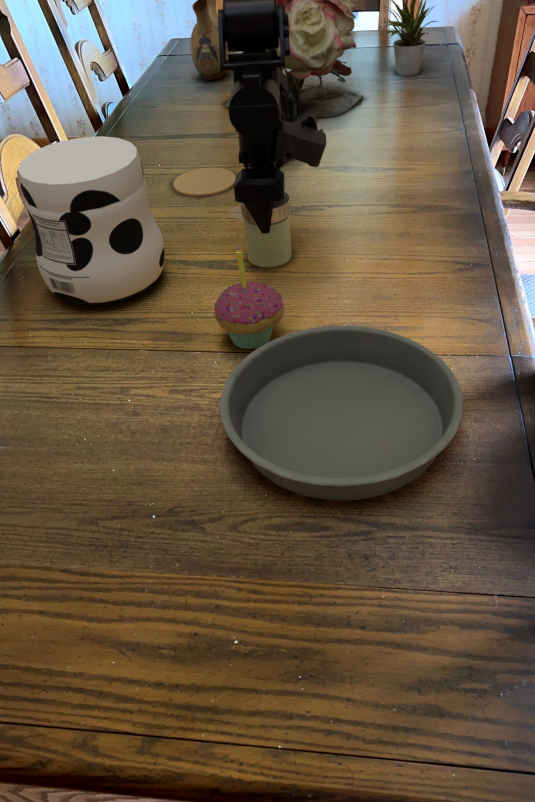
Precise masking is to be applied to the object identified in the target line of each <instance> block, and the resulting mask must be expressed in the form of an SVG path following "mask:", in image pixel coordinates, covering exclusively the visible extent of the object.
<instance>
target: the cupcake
mask: <svg viewBox="0 0 535 802" xmlns="http://www.w3.org/2000/svg"><path fill="white" fill-rule="evenodd" d="M235 254H236V255H235V256H236V261H237V267H238V268H237V269H238V274H239V279H240V282H237V283H236V284H233V285H231V286H228V287H227V288H226V289H224V290H222V292H221V293H220V294H219V296H218V298H216V301H215V303H214V311H213V312H214V313H213V315H214V319H215V320H216V322H217V324H218V325H219V327H220V328H221V329H223V330H225V331H226V332H227V333H228V335H229V338H230V339H231V341H232V343H233V344H234V345H235V346H236V347H238V348H240V349H243V350H254V349H255V350H256V349H258V348H259V347H261V346H263V345H265V344H266V343H268V342H270V341H271V340H270V339H271V335H272V332H273V328H274V327H275V324H278V323H280V322H281V321H282V319H283V317H284V315H285V305H284V299H283V296H282V293H279V292H278V291H277V290H276V289H275V288H274V287H273V286H272V285H268V284H267V283H265V282H264V283H263V282H259V281H247V278H246V271H245V264H244V260H243V259H244V258H243V252H242V250H240V246H239V244H236V252H235Z"/></svg>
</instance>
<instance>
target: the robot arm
mask: <svg viewBox="0 0 535 802" xmlns="http://www.w3.org/2000/svg"><path fill="white" fill-rule="evenodd" d="M217 16H218V31H219V52H220V69H221V71H225V72H227V71H228V72H230V71H231V76H232V88H231V91H232V92H231V91H230V94H231V98H230V97H229V98H230V103H229V107H228V118H229V121H230V124H231V125H232V127H233V128H234V129H235V133H237V138H238V149H239V151H238V154H237V155H238V156H237V157H238V164H241V165H243V168H241V169H240V170H239V172H238V173H237V174H235V176H236V177H235V183H234V185H233V193H234V202H236V203H239V204H241V203H243V204H244V205H245V207H246V208H247V210H248V211H249V213H250V215H251V216H252V218H253V219H254V221H255V223H256V224H257V226H258V228H259V229H260V231H261V233H263V234H267V233H270V227H271V220H272V212H273V205H274V202H275V201H281V200H283V199H284V197H285V192H286V181H285V180H286V179H285V172H283V171H282V170H281V168H283V166H284V165H285V164H286V163H287V162H288V161H290V160H294V161H297V162H300V163H304V164H307V165H308V166H309V167H312V168H318V167H320V164H321V161H322V158H323V155H324V152H325V150H326V147H327V134H326V133H325V132H324V129H322V128H318V124H317V122H318V121H317V118H316V117H315V116H312V115H309V114H305V115H304V116H303V117H302V118H301V119H300V120H299V121H298V123H297V101H296V99H295V98H294V97H293V95H292V91H288V83H287V76H286V73H284V71H283V72H282V70H281V69H280V68H279V67H285V56H290V39H289V16H288V14H286V13H285V7H283V5H277V0H222V8H220V9H217ZM279 38H280V55H281V56H277V51H276V49H278V47H279ZM226 42H227V46H228V51H229V52H230V54H228V59H227V60H226ZM289 114H290V115H289Z"/></svg>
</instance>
